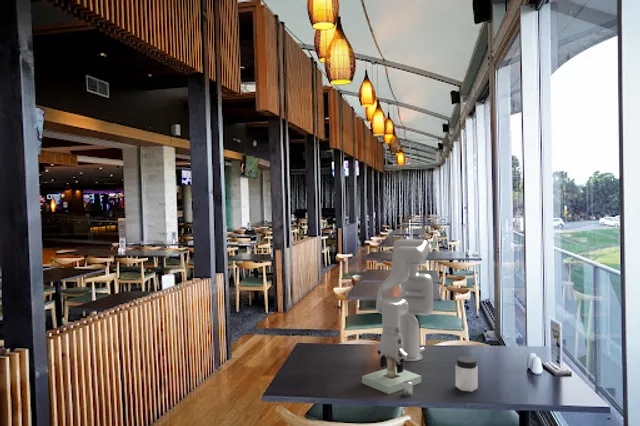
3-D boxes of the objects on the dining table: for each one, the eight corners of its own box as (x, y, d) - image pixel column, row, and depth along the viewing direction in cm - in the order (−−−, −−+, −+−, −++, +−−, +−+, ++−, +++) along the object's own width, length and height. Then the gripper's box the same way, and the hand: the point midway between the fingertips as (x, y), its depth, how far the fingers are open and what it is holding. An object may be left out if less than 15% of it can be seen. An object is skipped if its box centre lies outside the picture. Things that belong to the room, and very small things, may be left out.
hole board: (393, 372, 221) (393, 366, 221) (421, 382, 209) (421, 375, 209) (362, 383, 209) (362, 376, 209) (389, 394, 196) (388, 386, 196)
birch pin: (391, 380, 211) (391, 353, 211) (397, 383, 209) (397, 355, 208) (385, 382, 209) (385, 355, 209) (391, 384, 206) (391, 357, 206)
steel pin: (407, 391, 199) (407, 379, 198) (414, 394, 196) (414, 382, 196) (402, 394, 196) (402, 381, 196) (408, 396, 194) (408, 384, 194)
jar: (455, 390, 200) (455, 361, 200) (455, 383, 207) (455, 355, 207) (478, 392, 197) (477, 363, 197) (477, 385, 205) (477, 357, 205)
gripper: (412, 332, 204) (412, 372, 204) (382, 325, 218) (383, 362, 218) (400, 335, 199) (400, 377, 200) (370, 327, 213) (371, 366, 213)
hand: (391, 369), depth 209 cm, fingers open, 9 cm apart
